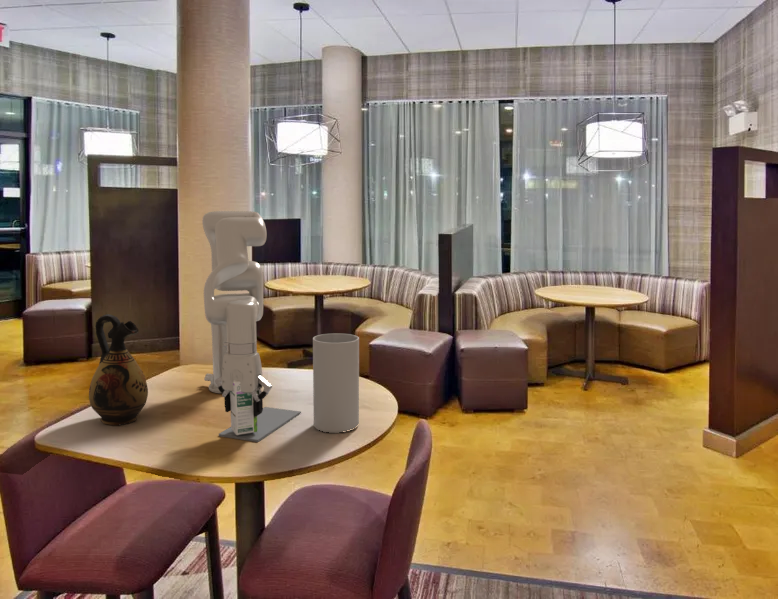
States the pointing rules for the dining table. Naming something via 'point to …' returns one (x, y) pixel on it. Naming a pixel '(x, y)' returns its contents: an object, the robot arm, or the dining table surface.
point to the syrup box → (242, 411)
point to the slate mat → (264, 424)
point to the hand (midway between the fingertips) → (243, 412)
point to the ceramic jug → (117, 376)
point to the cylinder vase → (336, 382)
